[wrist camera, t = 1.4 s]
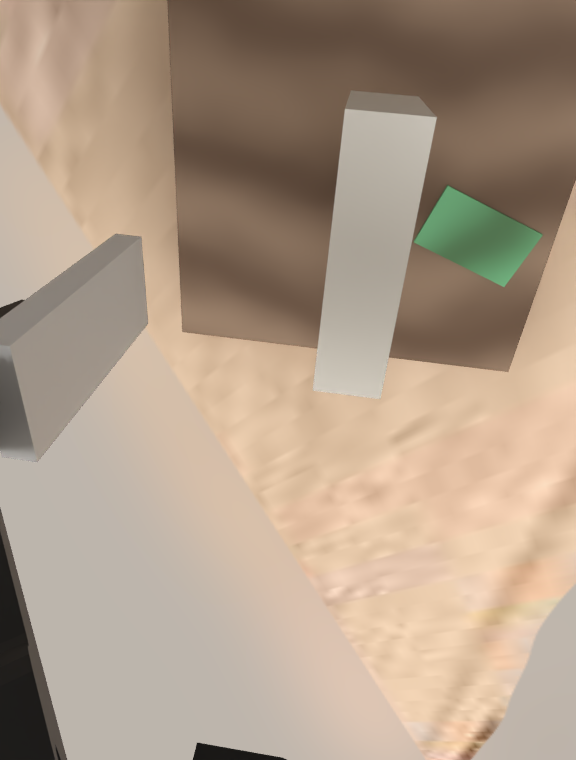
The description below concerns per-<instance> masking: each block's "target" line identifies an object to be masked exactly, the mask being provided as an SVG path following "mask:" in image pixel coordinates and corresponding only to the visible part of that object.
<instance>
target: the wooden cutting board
mask: <svg viewBox="0 0 576 760" xmlns="http://www.w3.org/2000/svg"><path fill="white" fill-rule="evenodd" d="M167 1H168V23H169V45H170V67H171V90H172V112H173V134H174V156H175V178H176V201H177V223H178V245H179V267H180V289H181V312H182V332H187V333H195V334H203V335H211V336H220V337H228V338H236V339H244V340H252V341H260V342H268V343H277V344H285V345H293V346H301V347H309V348H317V349H318V340H319V331H320V323H321V314H322V305H323V296H324V288H325V279H326V270H327V261H328V253H329V244H330V235H331V226H332V218H333V209H334V200H335V191H336V183H337V174H338V165H339V156H340V148H341V139H342V130H343V121H344V113H345V107H346V104H347V101H348V98H349V95H350V92H351V91H363V92H374V93H385V94H396V95H407V96H419V98H420V99H421V100H422V101H423V102H424V103H425V104H426V106H427V107H428V108H429V109H430V110H431V111H432V112H433V114H434V115H435V116H436V117H437V119H436V124H435V129H434V134H433V139H432V144H431V149H430V154H429V159H428V164H427V169H426V174H425V179H424V184H423V189H422V194H421V199H420V204H419V209H418V214H417V219H416V224H415V229H414V234H413V239H412V244H411V249H410V254H409V259H408V264H407V269H406V274H405V279H404V284H403V288H402V293H401V298H400V303H399V308H398V313H397V318H396V323H395V328H394V333H393V338H392V343H391V348H390V353H389V357H391V358H399V359H407V360H415V361H423V362H431V363H439V364H448V365H456V366H464V367H472V368H480V369H488V370H496V371H505V372H508V371H509V368H510V365H511V363H512V360H513V357H514V354H515V351H516V348H517V345H518V343H519V340H520V337H521V334H522V331H523V328H524V325H525V323H526V320H527V317H528V314H529V311H530V308H531V305H532V303H533V300H534V297H535V294H536V291H537V288H538V285H539V283H540V280H541V277H542V274H543V271H544V268H545V265H546V263H547V260H548V257H549V254H550V251H551V248H552V246H553V243H554V240H555V237H556V234H557V231H558V228H559V226H560V223H561V220H562V217H563V214H564V211H565V208H566V206H567V203H568V200H569V197H570V194H571V191H572V188H573V186H574V183H575V180H576V0H167Z"/></svg>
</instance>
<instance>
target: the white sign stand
mask: <svg viewBox="0 0 576 760" xmlns="http://www.w3.org/2000/svg"><path fill="white" fill-rule="evenodd" d="M436 119H437V117H436V116H435V115H434V114H433V112H432V111H431V110H430V109H429V108H428V107H427V106H426V104H425V103H424V102H423V101H422V100H421V99H420V98H419V96H407V95H396V94H385V93H374V92H363V91H351V92H350V95H349V98H348V101H347V104H346V107H345V113H344V121H343V130H342V139H341V148H340V156H339V165H338V174H337V183H336V191H335V200H334V209H333V218H332V226H331V235H330V244H329V253H328V261H327V270H326V279H325V288H324V296H323V305H322V314H321V323H320V331H319V340H318V349H317V358H316V366H315V375H314V384H313V391H320V392H328V393H336V394H344V395H352V396H359V397H367V398H375V399H380V398H381V393H382V388H383V383H384V378H385V373H386V368H387V363H388V358H389V353H390V348H391V343H392V338H393V333H394V328H395V323H396V318H397V313H398V308H399V303H400V298H401V293H402V288H403V284H404V279H405V274H406V269H407V264H408V259H409V254H410V249H411V244H412V239H413V234H414V229H415V224H416V219H417V214H418V209H419V204H420V199H421V194H422V189H423V184H424V179H425V174H426V169H427V164H428V159H429V154H430V149H431V144H432V139H433V134H434V129H435V124H436Z"/></svg>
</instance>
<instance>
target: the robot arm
mask: <svg viewBox="0 0 576 760" xmlns="http://www.w3.org/2000/svg"><path fill="white" fill-rule="evenodd" d="M147 324H148V315H147V302H146V289H145V277H144V264H143V251H142V238H141V237H139V236H130V235H121V234H115V235H113V236H112V237H110V238H109V239H108V240H106V241H105V242H104V243H102V244H101V245H100V246H98V247H97V248H95V249H94V250H93V251H92V252H90V253H89V254H87V255H86V256H85V257H83V258H82V259H80V260H79V261H78V262H77V263H75V264H74V265H72V266H71V267H70V268H68V269H67V270H66V271H64V272H63V273H62V274H60V275H59V276H57V277H56V278H55V279H53V280H52V281H50V282H49V283H48V284H46V285H45V286H44V287H42V288H41V289H40V290H38V291H37V292H35V293H34V294H33V295H31V296H30V297H29V298H27V299H26V300H20V301H17V302H14V303H12V304H9V305H6V306H4V307H1V308H0V451H1V454H2V457H4V458H11V459H19V460H26V461H32V462H38V461H39V459H40V458H41V457H42V456H43V455H44V453H45V452H46V451H47V450H48V448H49V447H50V446H51V445H52V443H53V442H54V441H55V439H56V438H57V437H58V436H59V434H60V433H61V432H62V431H63V430H64V428H65V427H66V426H67V424H68V423H69V422H70V421H71V420H72V418H73V417H74V416H75V415H76V413H77V412H78V411H79V410H80V408H81V407H82V406H83V404H84V403H85V402H86V401H87V400H88V398H89V397H90V396H91V394H92V393H93V392H94V391H95V389H96V388H97V387H98V386H99V384H100V383H101V382H102V381H103V379H104V378H105V377H106V376H107V374H108V373H109V372H110V371H111V369H112V368H113V367H114V366H115V364H116V363H117V362H118V361H119V359H120V358H121V357H122V356H123V354H124V353H125V352H126V351H127V349H128V348H129V347H130V345H131V344H132V343H133V342H134V341H135V339H136V338H137V337H138V336H139V334H140V333H141V332H142V331H143V329H144V328H145V327H146V326H147ZM0 760H67V758H66V754H65V750H64V746H63V743H62V739H61V735H60V731H59V727H58V724H57V720H56V716H55V712H54V709H53V705H52V701H51V697H50V694H49V690H48V686H47V682H46V678H45V675H44V671H43V667H42V663H41V660H40V657H39V652H38V649H37V645H36V641H35V637H34V633H33V629H32V626H31V622H30V618H29V615H28V611H27V607H26V603H25V599H24V595H23V592H22V588H21V584H20V580H19V577H18V573H17V569H16V565H15V562H14V558H13V554H12V550H11V546H10V543H9V539H8V535H7V531H6V528H5V524H4V520H3V516H2V513H1V509H0ZM193 760H286V759H284V758H281V757H274V756H269V755H264V754H258V753H252V752H247V751H241V750H235V749H230V748H225V747H219V746H213V745H207V744H202V743H197V745H196V750H195V754H194V758H193Z"/></svg>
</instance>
